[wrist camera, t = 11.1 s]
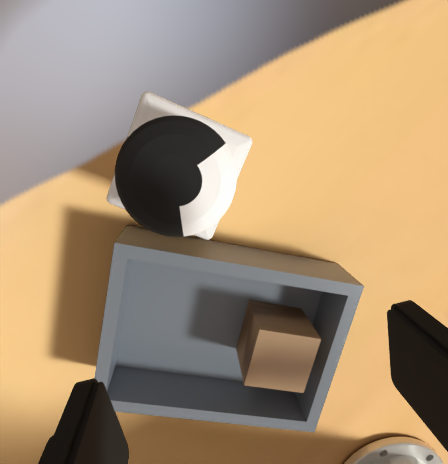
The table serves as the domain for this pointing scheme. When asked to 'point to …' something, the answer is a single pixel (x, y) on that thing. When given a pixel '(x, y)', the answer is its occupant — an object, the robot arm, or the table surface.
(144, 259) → the tote
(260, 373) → the walnut cube
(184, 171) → the medicine bottle
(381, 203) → the table surface
